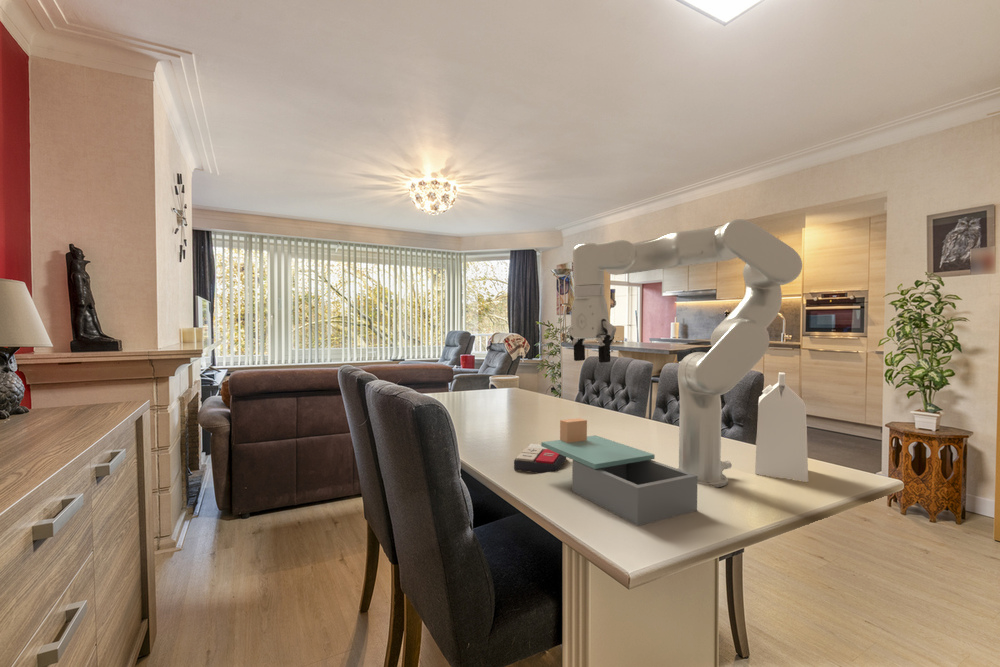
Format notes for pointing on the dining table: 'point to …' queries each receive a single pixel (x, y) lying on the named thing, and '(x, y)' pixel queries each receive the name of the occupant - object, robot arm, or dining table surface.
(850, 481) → the dining table surface
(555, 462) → the calculator
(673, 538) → the dining table surface
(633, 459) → the lid
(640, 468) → the tub
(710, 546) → the dining table surface
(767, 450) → the milk
